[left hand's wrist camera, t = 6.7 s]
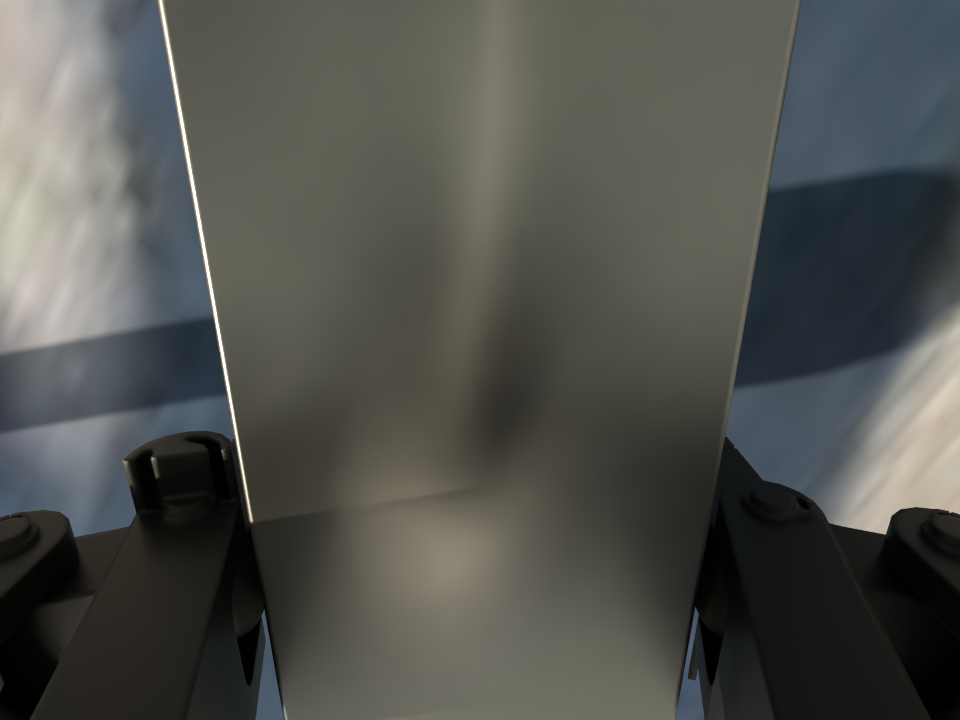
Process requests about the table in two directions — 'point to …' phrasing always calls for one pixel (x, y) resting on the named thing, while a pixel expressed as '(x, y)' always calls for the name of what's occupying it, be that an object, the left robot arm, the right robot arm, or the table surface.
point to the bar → (479, 330)
